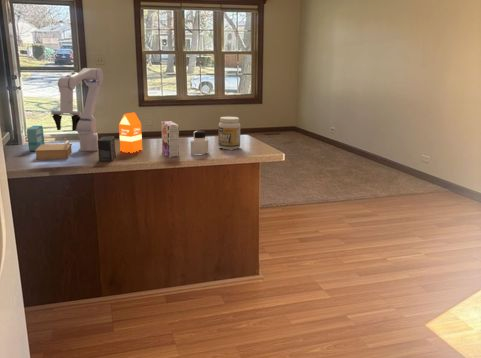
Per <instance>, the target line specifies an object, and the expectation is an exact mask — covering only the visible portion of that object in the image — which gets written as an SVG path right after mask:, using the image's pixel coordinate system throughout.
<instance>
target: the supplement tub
mask: <svg viewBox="0 0 481 358" xmlns="http://www.w3.org/2000/svg"><path fill="white" fill-rule="evenodd" d="M219 121H220V122H219V123H218V135H217V136H218V142H217V144H218V145H217V146H218V148H219V147H220V148H223V149H222V150H224V149H235V150H238V149H240V148H239V147H241V123H240V118H239V117H238V116H221V117H220V118H219ZM237 148H238V149H237Z"/></svg>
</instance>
